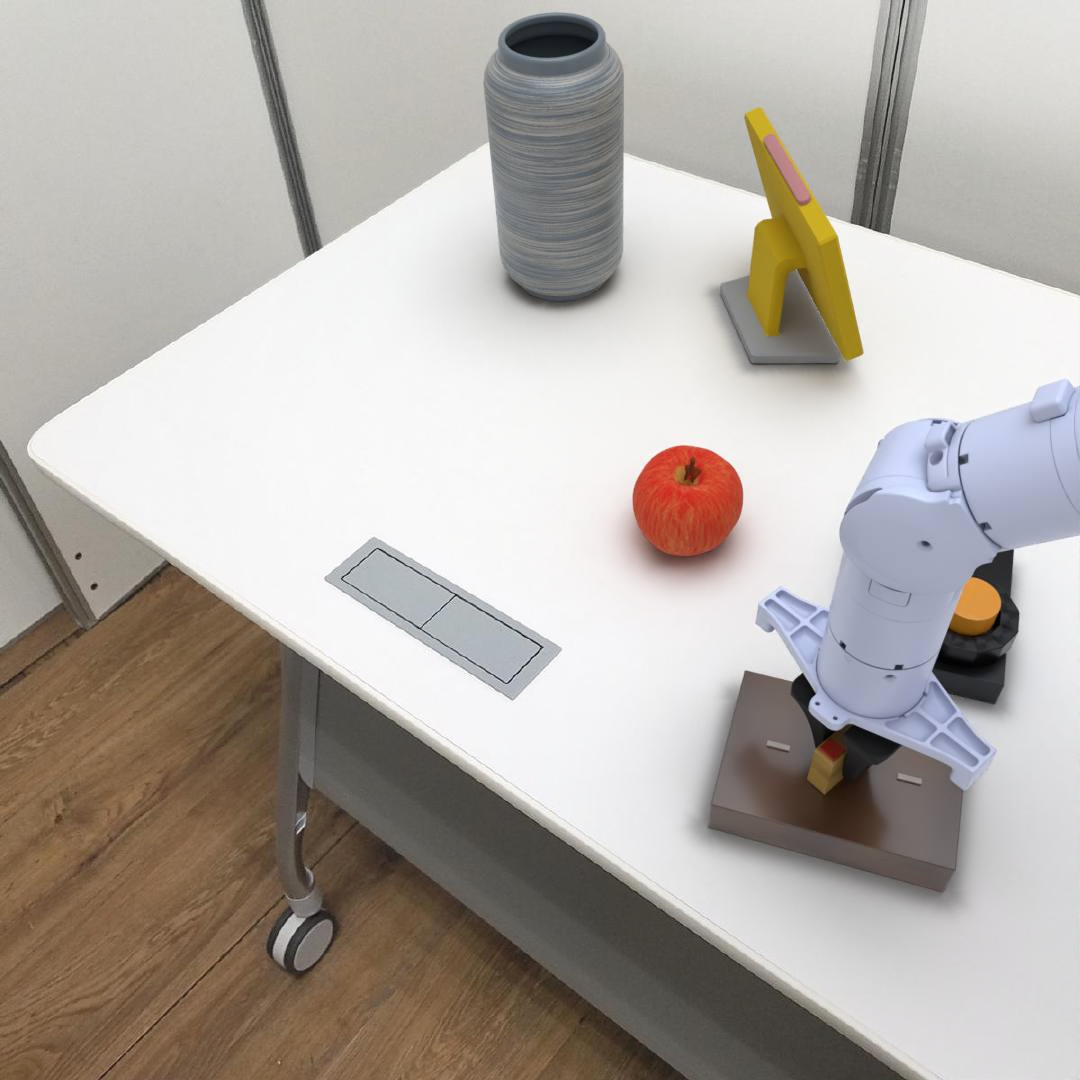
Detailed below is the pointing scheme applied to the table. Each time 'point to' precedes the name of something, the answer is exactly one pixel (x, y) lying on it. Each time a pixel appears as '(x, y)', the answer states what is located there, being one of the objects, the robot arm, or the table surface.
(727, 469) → the apple
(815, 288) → the toy computer monitor
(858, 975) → the table surface
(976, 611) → the bell button
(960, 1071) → the table surface
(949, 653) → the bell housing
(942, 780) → the lock plate
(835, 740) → the wooden block
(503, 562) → the table surface
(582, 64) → the vase
